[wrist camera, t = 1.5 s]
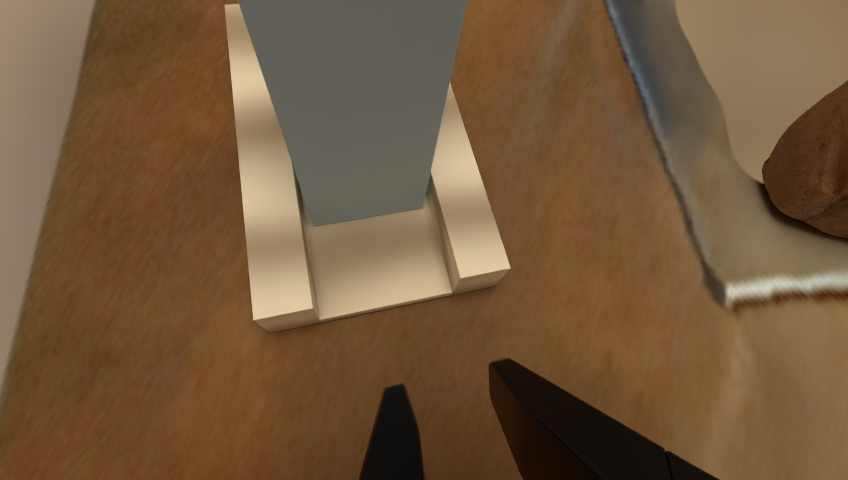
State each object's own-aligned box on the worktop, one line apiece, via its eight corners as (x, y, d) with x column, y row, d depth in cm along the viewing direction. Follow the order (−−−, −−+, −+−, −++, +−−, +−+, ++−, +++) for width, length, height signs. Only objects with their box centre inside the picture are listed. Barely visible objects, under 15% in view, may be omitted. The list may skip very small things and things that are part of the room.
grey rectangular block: (422, 207, 24) (476, -43, 11) (313, 226, 23) (228, -28, 10) (400, 120, 26) (422, -175, 13) (299, 134, 25) (214, -174, 12)
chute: (494, 286, 23) (510, 268, 20) (269, 333, 21) (253, 320, 18) (416, 30, 30) (419, -10, 27) (239, 46, 28) (224, 4, 25)
